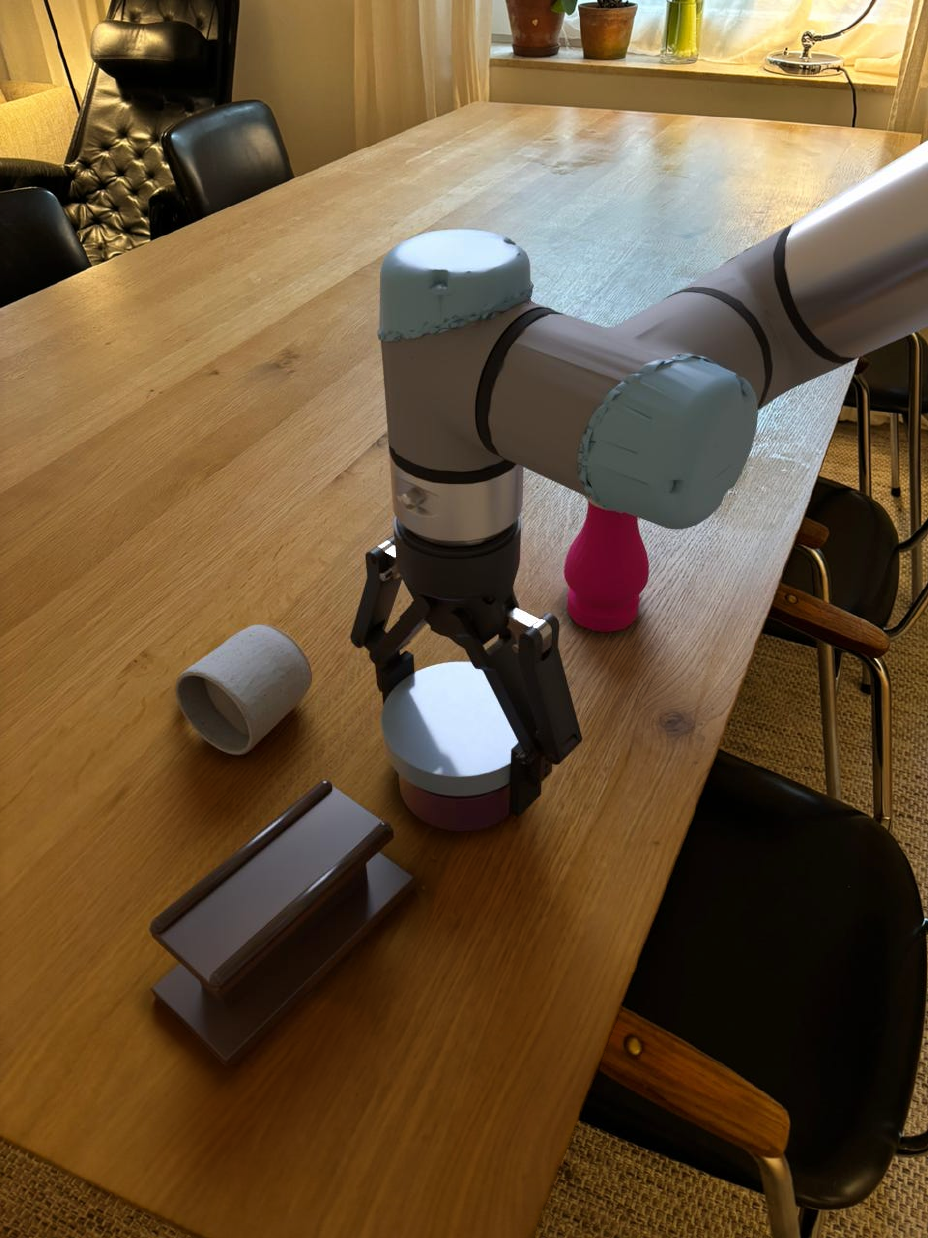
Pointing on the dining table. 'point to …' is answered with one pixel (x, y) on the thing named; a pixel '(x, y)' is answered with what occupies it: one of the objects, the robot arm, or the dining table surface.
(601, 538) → the pepper mill
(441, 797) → the plum stand
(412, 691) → the side plate
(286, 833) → the plate rack
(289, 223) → the dining table surface
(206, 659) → the ceramic mug
